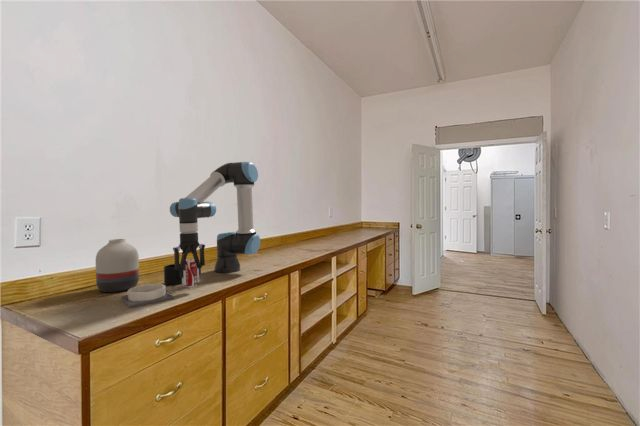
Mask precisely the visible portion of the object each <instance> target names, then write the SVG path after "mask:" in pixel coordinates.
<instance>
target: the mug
mask: <svg viewBox="0 0 640 426" xmlns="http://www.w3.org/2000/svg"><path fill="white" fill-rule="evenodd" d="M179 266H180V263H179ZM163 276H164V277H163V279H164V280H163V281H164V282H163V285H165V286H178V285H183V284H182V278H180V273H179V270H176V269H175V263H171V264H166V265H164V266H163Z"/></svg>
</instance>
